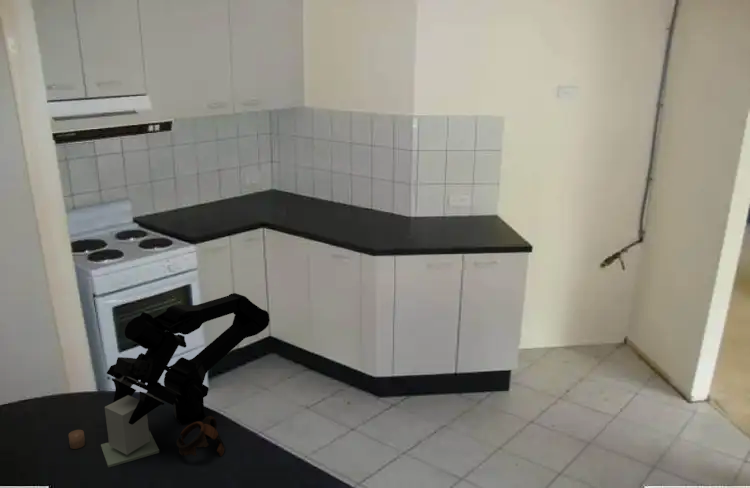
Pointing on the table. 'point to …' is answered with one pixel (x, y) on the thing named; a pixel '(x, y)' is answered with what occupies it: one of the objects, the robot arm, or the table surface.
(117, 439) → the gray rectangular block
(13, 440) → the table surface
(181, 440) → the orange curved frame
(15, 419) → the table surface
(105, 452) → the sage mat
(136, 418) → the robot arm
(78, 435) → the brown round lump
